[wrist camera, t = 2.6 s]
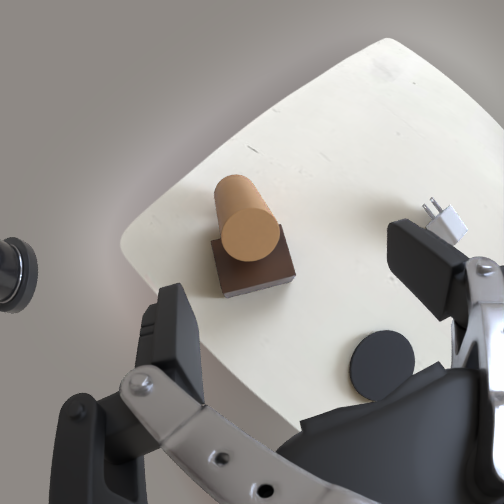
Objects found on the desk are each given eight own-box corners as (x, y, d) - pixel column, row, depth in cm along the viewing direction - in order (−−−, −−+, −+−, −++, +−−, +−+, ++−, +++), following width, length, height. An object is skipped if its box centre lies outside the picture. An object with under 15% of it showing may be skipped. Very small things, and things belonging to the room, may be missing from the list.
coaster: (372, 413, 31) (374, 414, 30) (335, 361, 33) (337, 361, 32) (423, 368, 32) (425, 368, 31) (390, 316, 34) (392, 315, 34)
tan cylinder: (277, 272, 36) (287, 241, 24) (234, 282, 35) (224, 257, 24) (252, 184, 39) (250, 126, 27) (213, 193, 39) (198, 138, 27)
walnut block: (291, 281, 35) (296, 275, 32) (226, 298, 35) (222, 293, 31) (278, 235, 37) (281, 223, 33) (215, 250, 37) (210, 240, 33)
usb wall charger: (441, 252, 36) (456, 243, 32) (413, 213, 38) (426, 202, 34) (454, 236, 37) (469, 228, 33) (427, 200, 38) (440, 188, 34)
